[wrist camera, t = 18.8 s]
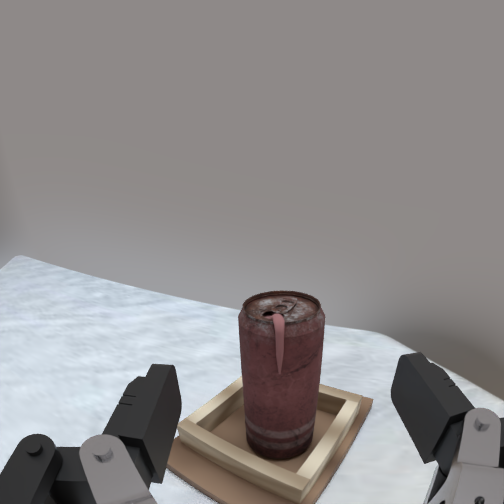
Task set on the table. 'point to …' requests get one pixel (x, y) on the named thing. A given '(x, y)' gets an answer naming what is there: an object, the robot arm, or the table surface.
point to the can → (280, 370)
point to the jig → (255, 465)
